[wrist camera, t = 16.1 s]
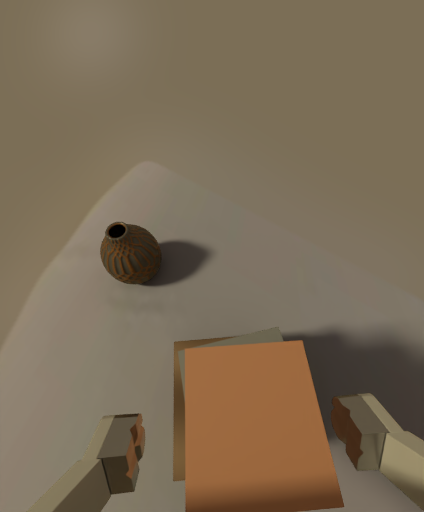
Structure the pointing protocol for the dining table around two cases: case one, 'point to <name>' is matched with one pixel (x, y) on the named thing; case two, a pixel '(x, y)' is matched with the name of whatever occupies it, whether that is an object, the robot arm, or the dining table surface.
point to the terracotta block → (255, 431)
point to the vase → (130, 253)
